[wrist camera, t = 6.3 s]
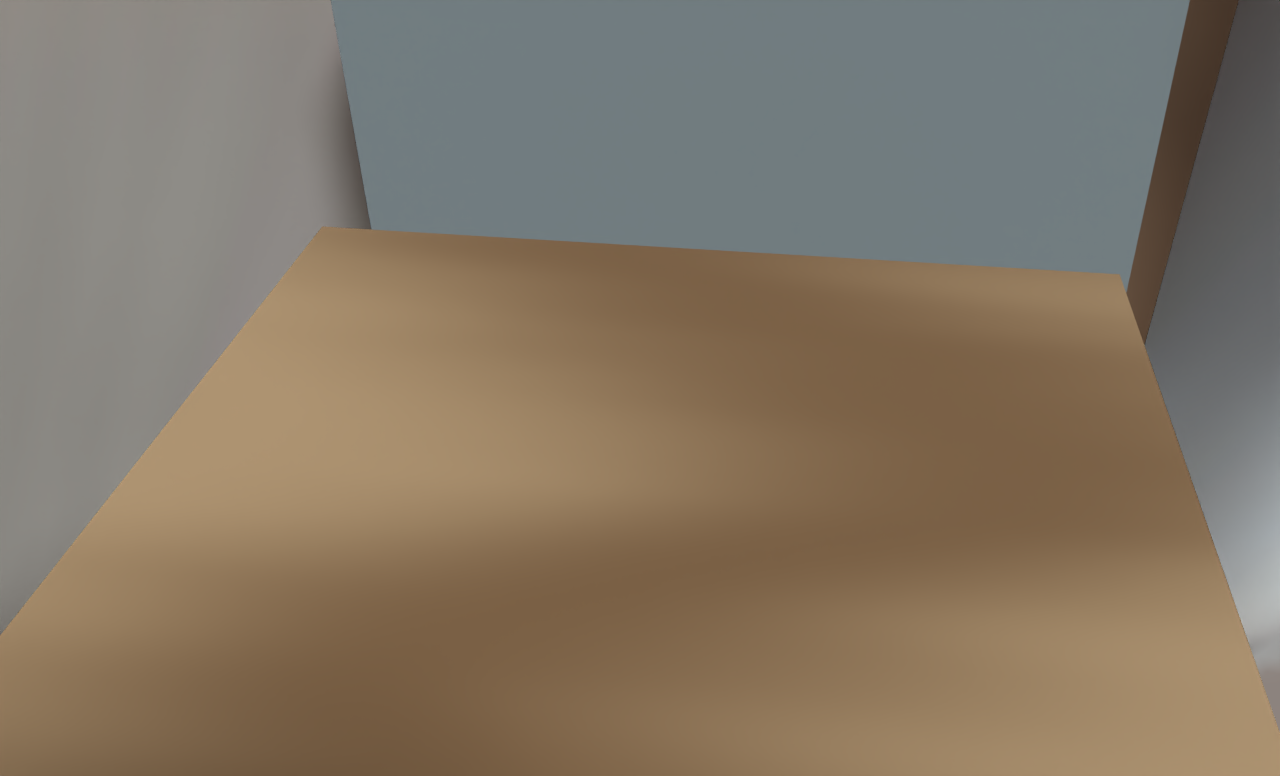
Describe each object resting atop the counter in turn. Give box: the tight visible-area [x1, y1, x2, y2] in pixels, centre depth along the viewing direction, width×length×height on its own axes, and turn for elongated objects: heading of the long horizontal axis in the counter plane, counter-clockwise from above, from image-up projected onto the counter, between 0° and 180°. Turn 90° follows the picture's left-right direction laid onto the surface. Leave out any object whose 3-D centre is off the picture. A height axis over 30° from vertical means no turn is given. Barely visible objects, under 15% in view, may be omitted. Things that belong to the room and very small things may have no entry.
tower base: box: [1126, 0, 1239, 345], centre depth 16 cm, size 10×10×3 cm
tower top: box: [331, 0, 1190, 292], centre depth 14 cm, size 8×8×3 cm
